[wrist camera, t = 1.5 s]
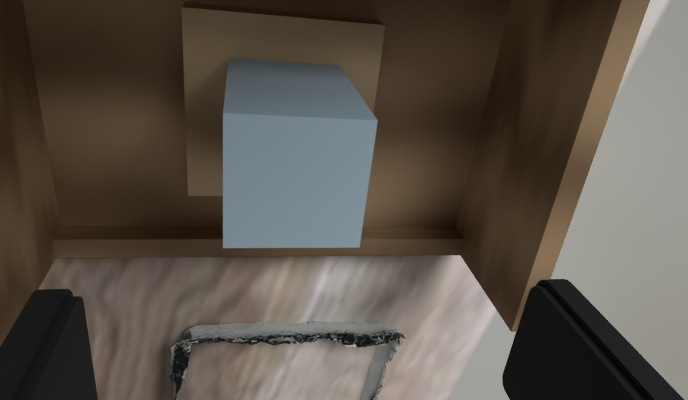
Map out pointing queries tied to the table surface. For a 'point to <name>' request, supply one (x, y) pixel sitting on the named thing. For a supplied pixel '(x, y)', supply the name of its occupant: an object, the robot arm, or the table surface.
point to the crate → (305, 47)
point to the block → (294, 156)
